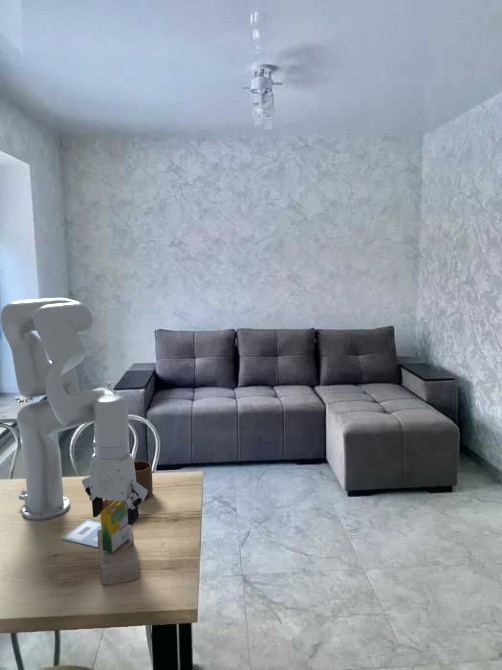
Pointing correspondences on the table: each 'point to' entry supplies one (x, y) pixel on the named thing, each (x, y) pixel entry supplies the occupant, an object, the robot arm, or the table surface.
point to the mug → (144, 476)
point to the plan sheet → (85, 533)
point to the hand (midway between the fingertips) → (115, 518)
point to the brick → (118, 561)
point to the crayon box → (114, 525)
